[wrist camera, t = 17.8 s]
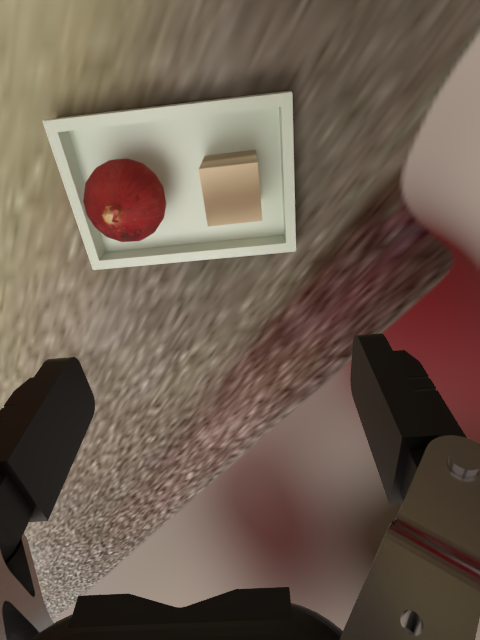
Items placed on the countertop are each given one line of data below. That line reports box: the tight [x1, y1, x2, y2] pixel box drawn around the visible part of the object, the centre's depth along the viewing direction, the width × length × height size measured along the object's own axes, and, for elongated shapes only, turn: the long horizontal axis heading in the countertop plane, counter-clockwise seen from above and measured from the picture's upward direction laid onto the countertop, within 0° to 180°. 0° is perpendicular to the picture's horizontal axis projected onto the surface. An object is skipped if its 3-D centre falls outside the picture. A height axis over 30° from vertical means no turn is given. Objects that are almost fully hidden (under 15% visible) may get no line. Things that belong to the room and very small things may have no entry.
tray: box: [43, 91, 296, 270], centre depth 31 cm, size 12×18×2 cm, turn 96°
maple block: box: [199, 150, 262, 226], centre depth 29 cm, size 4×4×5 cm
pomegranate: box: [83, 159, 166, 242], centre depth 28 cm, size 6×6×8 cm
